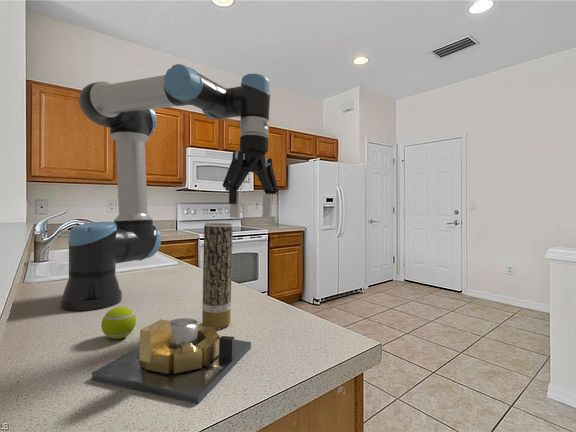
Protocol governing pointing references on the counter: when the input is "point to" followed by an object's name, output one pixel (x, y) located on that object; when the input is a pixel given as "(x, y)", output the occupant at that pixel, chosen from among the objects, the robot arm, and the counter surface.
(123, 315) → the tennis ball
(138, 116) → the robot arm
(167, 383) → the housing
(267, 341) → the counter surface
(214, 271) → the bark textured cylinder
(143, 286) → the counter surface
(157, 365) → the ring nut
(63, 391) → the counter surface
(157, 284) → the counter surface
